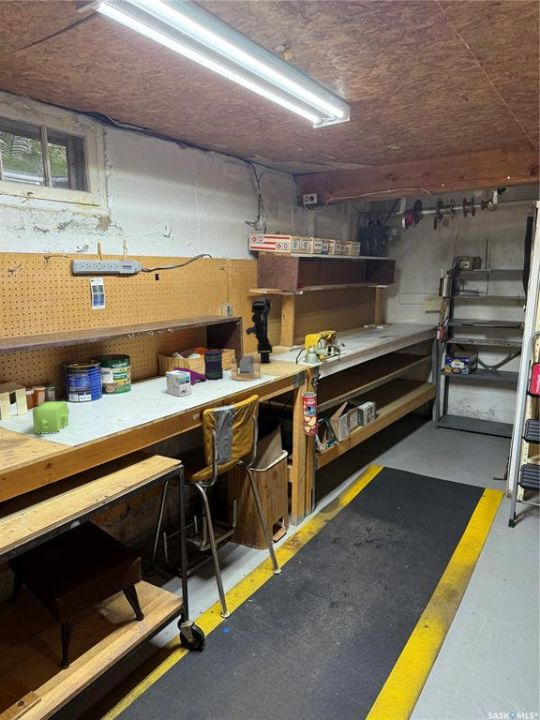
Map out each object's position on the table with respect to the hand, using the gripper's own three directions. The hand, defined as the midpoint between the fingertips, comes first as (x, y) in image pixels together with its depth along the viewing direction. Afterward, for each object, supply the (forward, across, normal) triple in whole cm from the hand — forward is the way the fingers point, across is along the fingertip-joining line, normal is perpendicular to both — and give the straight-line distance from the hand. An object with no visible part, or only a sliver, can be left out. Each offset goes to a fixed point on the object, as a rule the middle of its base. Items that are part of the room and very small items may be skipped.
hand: (260, 348), depth 279 cm
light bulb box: (+13, +55, -45) cm, 72 cm away
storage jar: (+12, +23, -28) cm, 39 cm away
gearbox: (+13, +99, -88) cm, 133 cm away
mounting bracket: (+13, +31, -40) cm, 52 cm away
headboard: (+12, +32, -11) cm, 36 cm away
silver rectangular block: (+12, +22, -10) cm, 27 cm away
